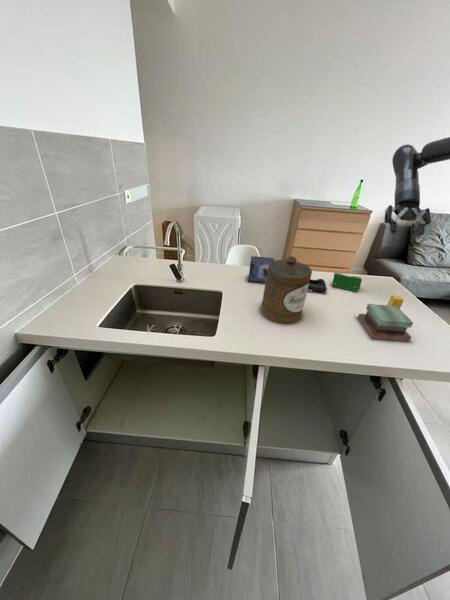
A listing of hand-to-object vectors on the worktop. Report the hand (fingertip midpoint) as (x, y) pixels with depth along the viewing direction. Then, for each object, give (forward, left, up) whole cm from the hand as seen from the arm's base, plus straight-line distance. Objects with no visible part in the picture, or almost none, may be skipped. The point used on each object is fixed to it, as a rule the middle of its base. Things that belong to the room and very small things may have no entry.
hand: (407, 234), depth 87 cm
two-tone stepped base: (+2, +21, -29) cm, 35 cm away
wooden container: (+37, +24, -29) cm, 53 cm away
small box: (+50, +1, -29) cm, 58 cm away
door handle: (+31, -4, -29) cm, 42 cm away
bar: (-2, +12, -29) cm, 31 cm away
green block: (+12, -9, -29) cm, 33 cm away
